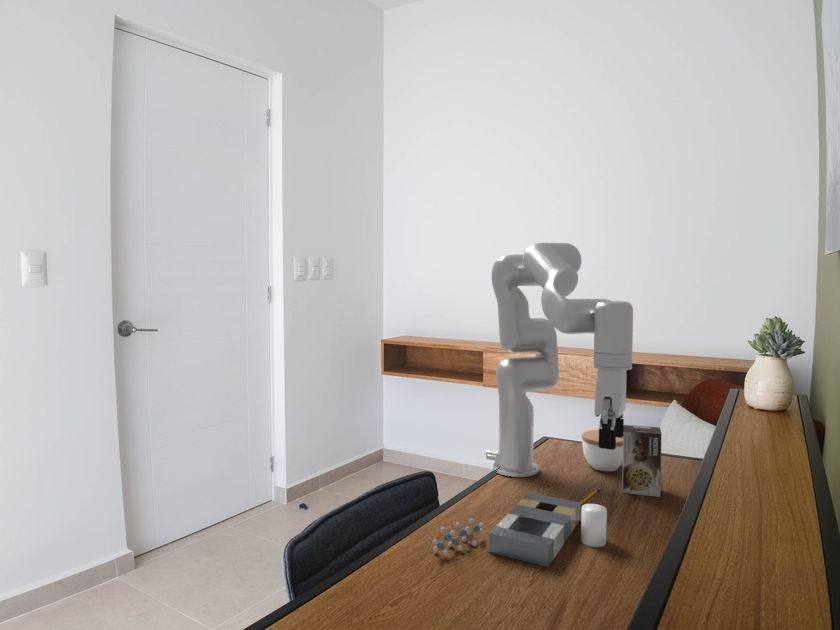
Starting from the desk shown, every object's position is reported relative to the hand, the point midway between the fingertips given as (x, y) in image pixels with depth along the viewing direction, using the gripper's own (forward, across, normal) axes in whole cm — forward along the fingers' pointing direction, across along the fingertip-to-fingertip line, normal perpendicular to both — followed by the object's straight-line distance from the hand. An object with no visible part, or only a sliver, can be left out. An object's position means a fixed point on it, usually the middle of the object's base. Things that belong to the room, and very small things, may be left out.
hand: (611, 442), depth 122 cm
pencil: (+20, -18, -9) cm, 28 cm away
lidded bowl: (+20, -44, -9) cm, 50 cm away
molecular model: (+20, +19, -26) cm, 38 cm away
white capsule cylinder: (+20, +4, -3) cm, 21 cm away
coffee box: (+20, -30, +2) cm, 36 cm away
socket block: (+20, +6, -14) cm, 25 cm away
